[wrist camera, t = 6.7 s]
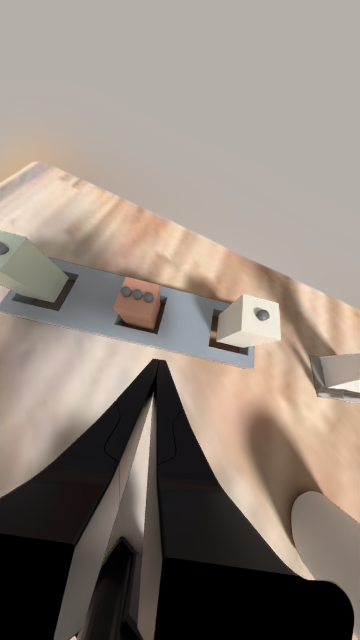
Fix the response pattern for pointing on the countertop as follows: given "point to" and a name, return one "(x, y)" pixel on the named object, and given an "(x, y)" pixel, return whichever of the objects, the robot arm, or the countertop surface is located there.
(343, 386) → the skyscraper
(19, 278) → the green block
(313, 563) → the can
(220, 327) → the cream block
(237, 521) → the robot arm
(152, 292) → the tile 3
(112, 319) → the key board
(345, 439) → the countertop surface
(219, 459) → the countertop surface
